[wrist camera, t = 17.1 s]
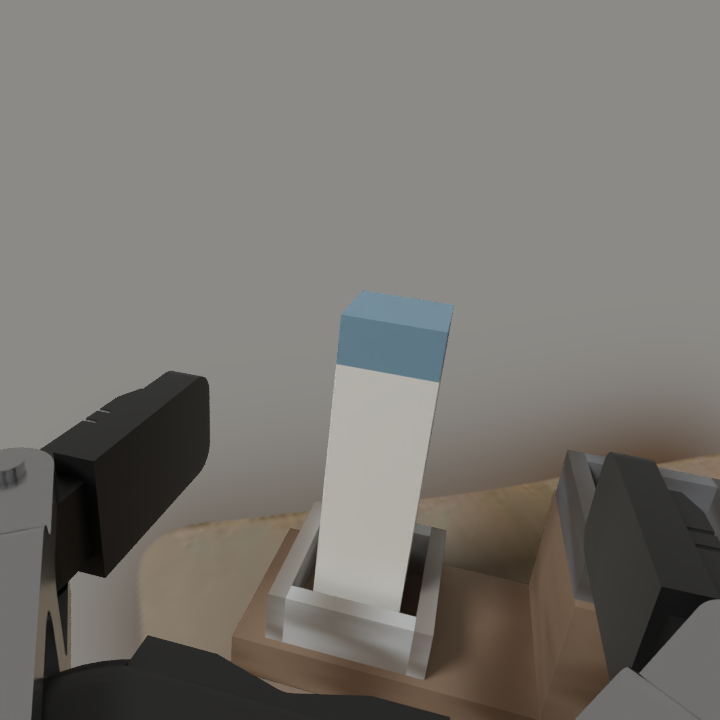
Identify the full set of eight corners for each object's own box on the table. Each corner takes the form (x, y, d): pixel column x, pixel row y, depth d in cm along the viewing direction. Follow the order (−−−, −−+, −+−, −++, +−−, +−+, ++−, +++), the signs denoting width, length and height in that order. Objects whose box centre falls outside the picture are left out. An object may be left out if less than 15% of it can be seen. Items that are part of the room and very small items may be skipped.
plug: (405, 581, 30) (454, 304, 25) (394, 641, 26) (447, 332, 21) (331, 563, 31) (362, 290, 25) (310, 620, 27) (341, 314, 22)
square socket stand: (659, 646, 30) (726, 477, 27) (711, 804, 23) (815, 602, 19) (288, 556, 34) (301, 393, 30) (231, 669, 26) (238, 473, 23)
